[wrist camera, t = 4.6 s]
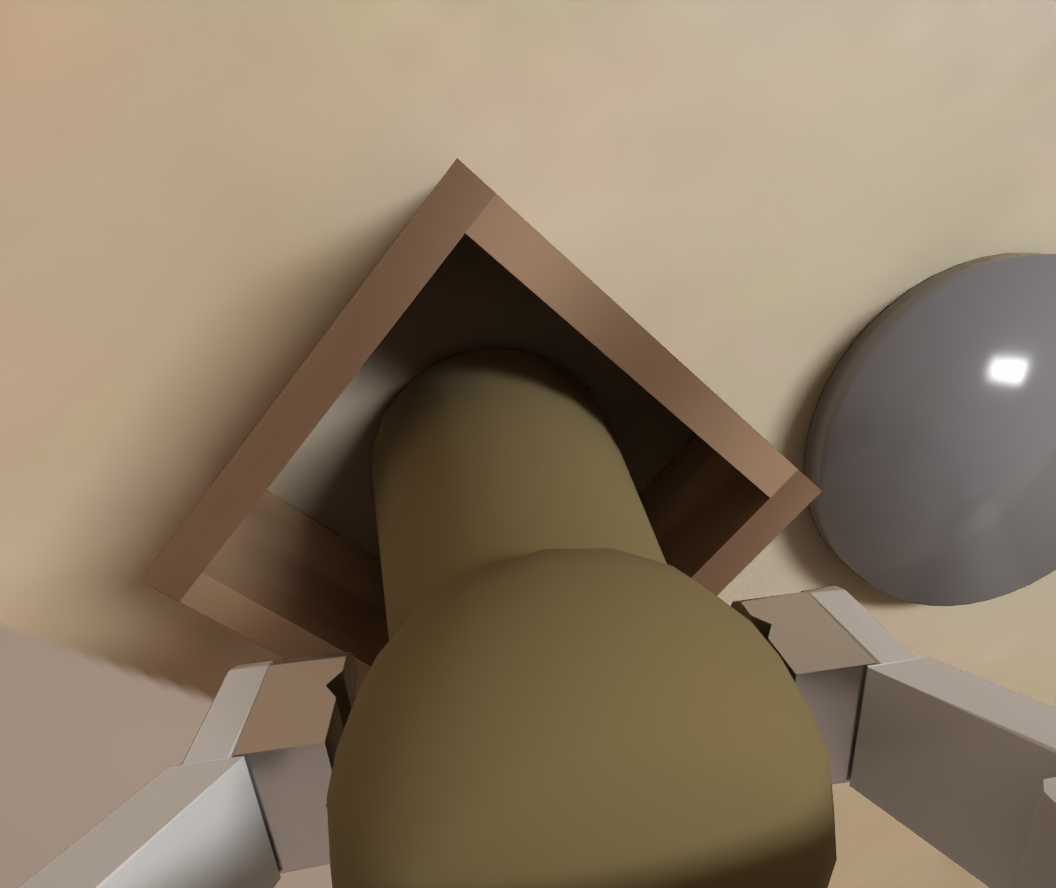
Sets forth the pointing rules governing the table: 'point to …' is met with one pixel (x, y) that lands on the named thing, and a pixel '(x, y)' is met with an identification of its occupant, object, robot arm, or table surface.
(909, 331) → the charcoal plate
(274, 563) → the walnut holder
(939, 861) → the table surface
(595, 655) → the cork
